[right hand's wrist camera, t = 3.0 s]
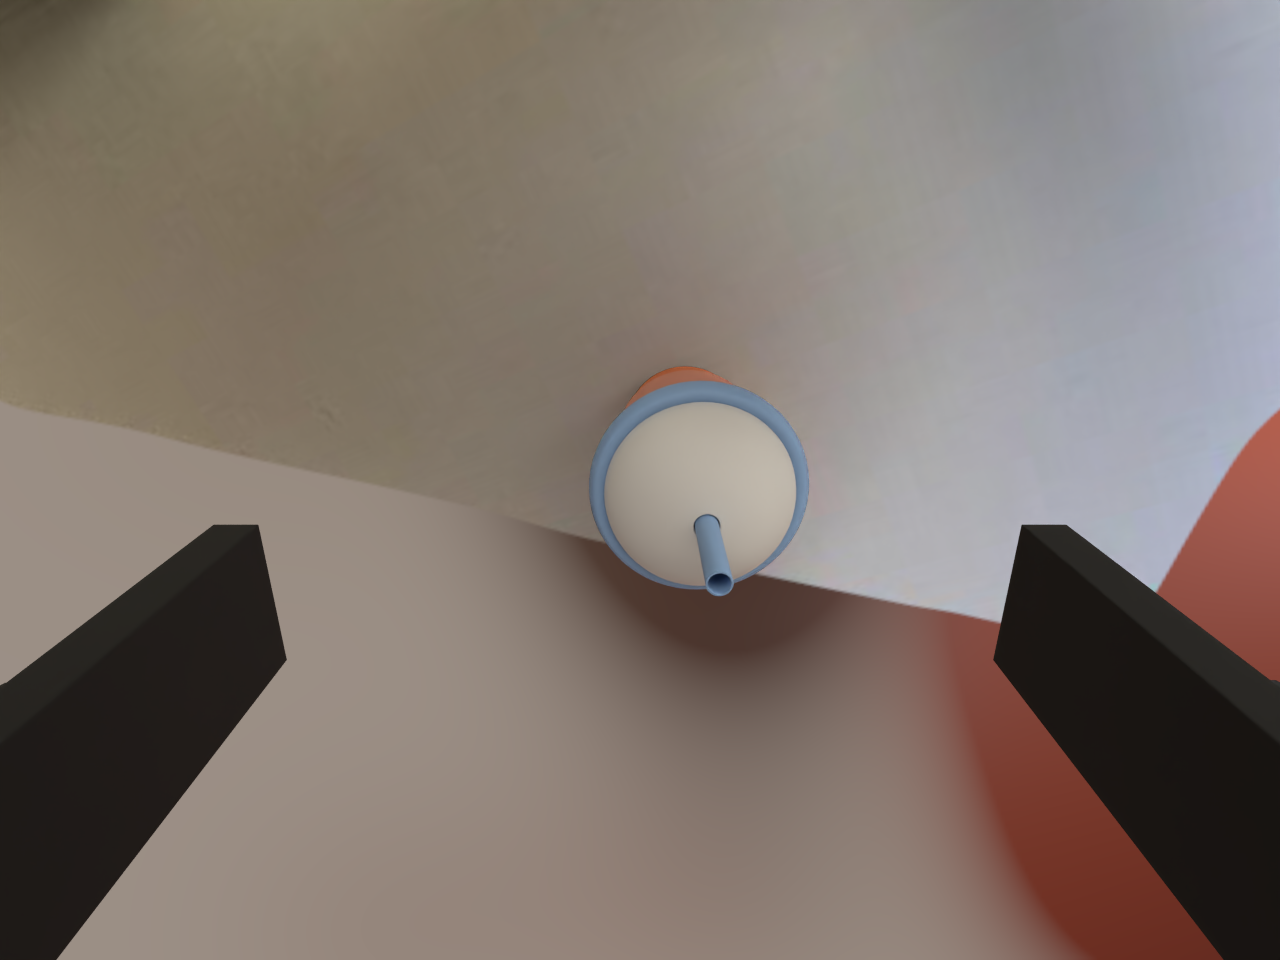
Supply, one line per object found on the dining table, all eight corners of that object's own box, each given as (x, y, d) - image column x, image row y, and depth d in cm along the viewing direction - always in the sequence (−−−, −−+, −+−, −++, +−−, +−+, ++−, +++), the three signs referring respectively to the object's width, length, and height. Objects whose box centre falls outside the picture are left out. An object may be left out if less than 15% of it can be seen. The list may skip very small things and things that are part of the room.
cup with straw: (610, 506, 41) (593, 715, 24) (590, 346, 38) (553, 461, 21) (770, 490, 41) (865, 691, 24) (763, 328, 38) (867, 430, 21)
